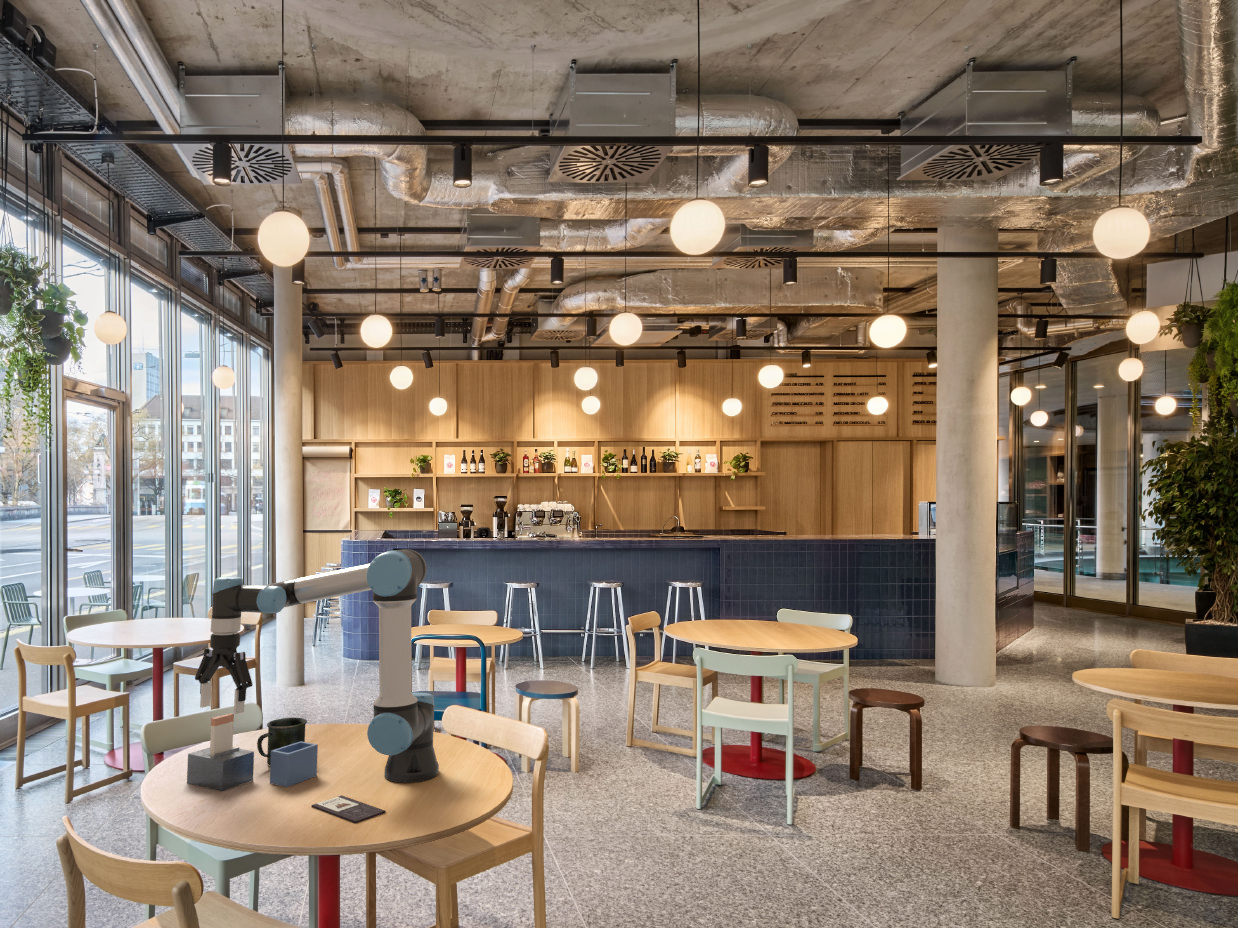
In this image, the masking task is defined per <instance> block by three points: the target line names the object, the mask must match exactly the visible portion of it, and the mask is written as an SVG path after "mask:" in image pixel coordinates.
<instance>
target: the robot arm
mask: <svg viewBox="0 0 1238 928" xmlns="http://www.w3.org/2000/svg"><path fill="white" fill-rule="evenodd" d="M427 569H428V567H427V563H426V561H425V558H424V557H423V556H422V554H421V553H419V552H418V551H416V550H414V549H410V548H409V549H408V548H406V549H399V550H398V549H397V550H388V551H385V552H383V553H379V554H378V555H376V557H374V558H373V560H372V561H371V562H370V563H366V564H363V565H362V564H361V565H357V566H352V567H347V568H343V569H337V570H333V571H329V572H323V573H318V574H314V575H313V574H312V575H309V576H304V577H299V578H293V579H290V580H289V579H287V580H282V581H280V582H274V583H269V584H262V585H260V584H259V585H258V584H257V585H256V584H255V585H254V584H253V585H252V584H251V585H250V584H244V579H243V578H242V577H239V576H221V577H220V576H219V577H217V578H215V579H214V580H213V588H212V593H211V595H212V601H211V602H212V603H211V604H212V605H211V611H212V612H211V618H210V619H211V620H210V632H211V634H210V642H209V647H207V648H204V650H203V656H202V659H201V661H200V664H199V665H198V669H197V671H196V674H195V676H194V679H195V681H198V682H199V684H200V687H199V690H200V691H199V694H200V700H199V701H200V703H199V704H200V705H199V707H200V708H206V707H211V702H212V701H211V700H212V699H211V698H212V685H213V684H212V682H211V681H212V678H213V676H214V675H215V673H216V672H217V670H218V669H219V667H222V668H225V669H226V670H227V671H228V672H229V674H230V676H231V678H232V680H233V683H234V684H235V686H236V688H235V689H234V701H233V704H234V705H233V714H234V715H238V714H242V713H244V712H245V701H246V699H247V689H248V688H251V687H253V686H254V685H253V681H252V678H251V673H250V670H249V667H248V663H247V660H246V659H247V658H246V656H247V655H246V652H245V651H241V652H238V650H237V649H238V647H239V646H240V644H241V633H240V631H241V626H242V625H241V622H242V613H258V614H266V615H269V614H279V613H280V612H282V610H283V609H284V608H289V607H293V606H297V605H298V606H299V605H301V604H306V603H311V602H317V601H322V600H327V599H331V598H336V597H337V598H338V597H342V596H343V597H344V596H346V595H352V594H356V593H357V594H358V593H362V592H367V591H372V602H373V603H374V604H375V605H376V606H377V607H378V656H379V657H378V671H379V672H378V674H379V675H378V678H379V681H378V685H379V686H378V687H379V688H378V693H379V695H378V697H377V698H376V699H375V700H374V701H373V718H372V719H371V721H370V722H369V724H368V726H367V731H366V735H367V740H368V742H369V744H370V745H371V747H372V748H373V749H374V750H375V751H376V752H377V753H379V754H382V755H384V756H388V757H387V759H386V764H385V767H384V771H383V772H384V778H385V779H386V780H388V781H390V782H394V783H419V782H423V781H429V780H432V779H433V778H435V777H437V776H438V774H439V773H440V772H439V769H440V767H439V762H438V761H437V755H436V752H435V748H434V723H435V722H434V721H435V720H434V719H435V698H434V695H433V694H431V693H428V692H413V688H412V687H413V685H412V683H413V681H412V679H413V675H412V674H413V673H412V665H413V664H412V605H413V604H414V603H415V602H416V601H417V598H418V596H417V594H418V591H417V590H418V589H417V588H418V586H420V585H421V584H422V583H423V581H424V580H425V578H426V576H427Z"/></svg>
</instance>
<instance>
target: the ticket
mask: <svg viewBox="0 0 1238 928" xmlns="http://www.w3.org/2000/svg"><path fill="white" fill-rule="evenodd" d="M234 717H235V714H234V713H231V712H230V713H226V714H221V715H218V716H213V717H211V719H210V739H209V740H210V741H209V742H210V743H209V744H210V746H209V748H210V756H213V754H216V753H219V752H223V751H226V750H229V749H232V748H233V747H234V746H233V741H234V721H235V719H234Z"/></svg>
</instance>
